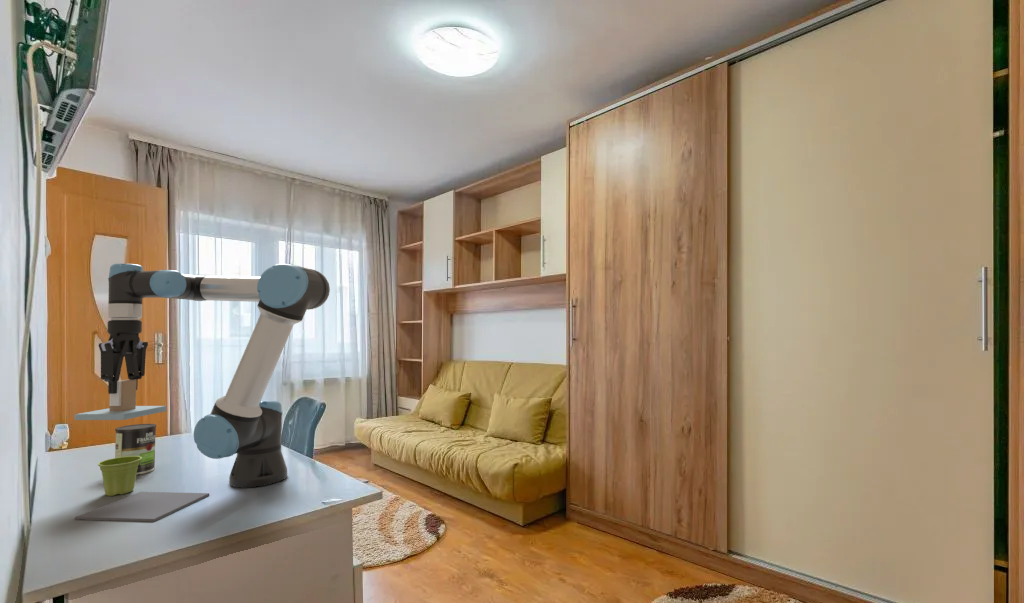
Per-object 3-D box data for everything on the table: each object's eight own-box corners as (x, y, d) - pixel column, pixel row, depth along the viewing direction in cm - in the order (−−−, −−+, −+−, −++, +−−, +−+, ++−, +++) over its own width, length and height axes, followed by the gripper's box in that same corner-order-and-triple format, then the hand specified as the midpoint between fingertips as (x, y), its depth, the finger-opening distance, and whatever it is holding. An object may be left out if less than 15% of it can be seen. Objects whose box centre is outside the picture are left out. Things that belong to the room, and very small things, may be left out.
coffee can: (163, 467, 160) (164, 423, 160) (133, 477, 149) (135, 430, 150) (135, 466, 161) (136, 423, 162) (104, 476, 151) (106, 429, 152)
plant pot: (116, 499, 130) (117, 465, 130) (87, 497, 132) (88, 464, 132) (149, 488, 139) (150, 456, 139) (121, 486, 141) (122, 455, 141)
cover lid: (166, 411, 143) (166, 377, 143) (123, 419, 129) (124, 383, 129) (121, 411, 144) (122, 378, 145) (74, 420, 130) (75, 383, 131)
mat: (209, 495, 132) (209, 493, 132) (154, 521, 114) (154, 519, 114) (139, 494, 134) (140, 491, 134) (74, 519, 116) (75, 516, 116)
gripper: (138, 320, 147) (136, 400, 145) (83, 319, 130) (80, 409, 128) (162, 319, 146) (160, 399, 145) (109, 318, 129) (107, 409, 128)
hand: (122, 404), depth 137 cm, fingers closed on cover lid, 4 cm apart
